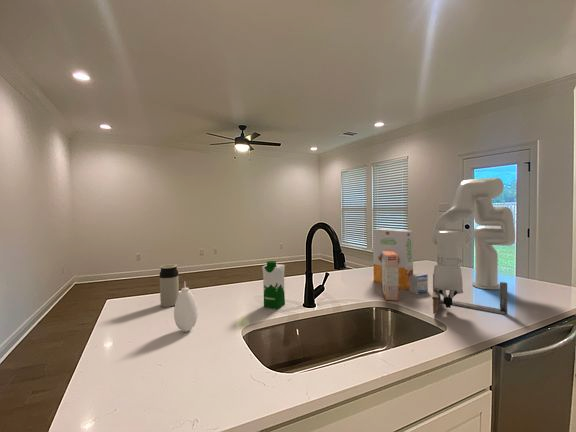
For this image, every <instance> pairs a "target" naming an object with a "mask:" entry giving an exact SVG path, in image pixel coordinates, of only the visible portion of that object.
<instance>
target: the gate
mask: <svg viewBox="0 0 576 432" xmlns="http://www.w3.org/2000/svg"><path fill="white" fill-rule="evenodd" d="M431 299H432V306H433V307H432V314H434V315H438V313H439V311H438V310H439V302H438V300H439V291H433V290H432V296H431Z"/></svg>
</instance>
